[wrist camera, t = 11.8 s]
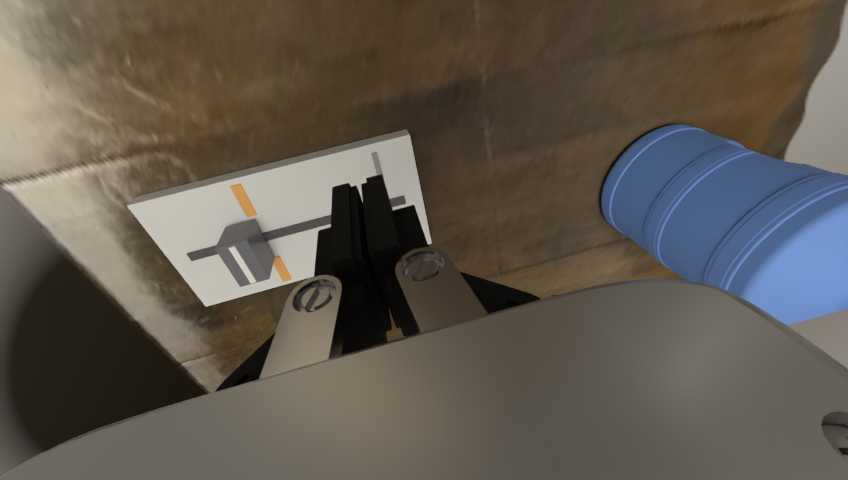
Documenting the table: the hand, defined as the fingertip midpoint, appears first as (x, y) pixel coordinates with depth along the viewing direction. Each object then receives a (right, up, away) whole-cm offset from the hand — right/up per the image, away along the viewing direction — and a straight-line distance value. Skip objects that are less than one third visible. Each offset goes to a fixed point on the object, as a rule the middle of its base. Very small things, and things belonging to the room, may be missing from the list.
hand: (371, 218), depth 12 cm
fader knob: (-17, -1, +25) cm, 30 cm away
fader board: (-12, +2, +28) cm, 31 cm away
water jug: (+33, +8, +37) cm, 50 cm away
